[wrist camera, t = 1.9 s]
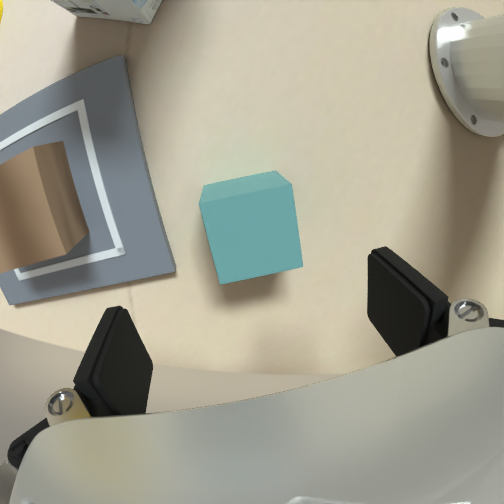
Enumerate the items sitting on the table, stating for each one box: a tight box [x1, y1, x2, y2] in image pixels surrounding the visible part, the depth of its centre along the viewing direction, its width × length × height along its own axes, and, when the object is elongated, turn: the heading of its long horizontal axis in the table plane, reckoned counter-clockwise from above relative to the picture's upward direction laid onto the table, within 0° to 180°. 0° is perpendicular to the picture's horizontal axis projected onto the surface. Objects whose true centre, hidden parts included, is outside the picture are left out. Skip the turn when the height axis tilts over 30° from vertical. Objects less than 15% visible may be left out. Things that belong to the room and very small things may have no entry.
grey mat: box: [0, 55, 176, 305], centre depth 19 cm, size 18×16×1 cm
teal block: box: [199, 171, 303, 285], centre depth 19 cm, size 5×5×5 cm
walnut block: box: [0, 141, 89, 274], centre depth 16 cm, size 7×7×4 cm
